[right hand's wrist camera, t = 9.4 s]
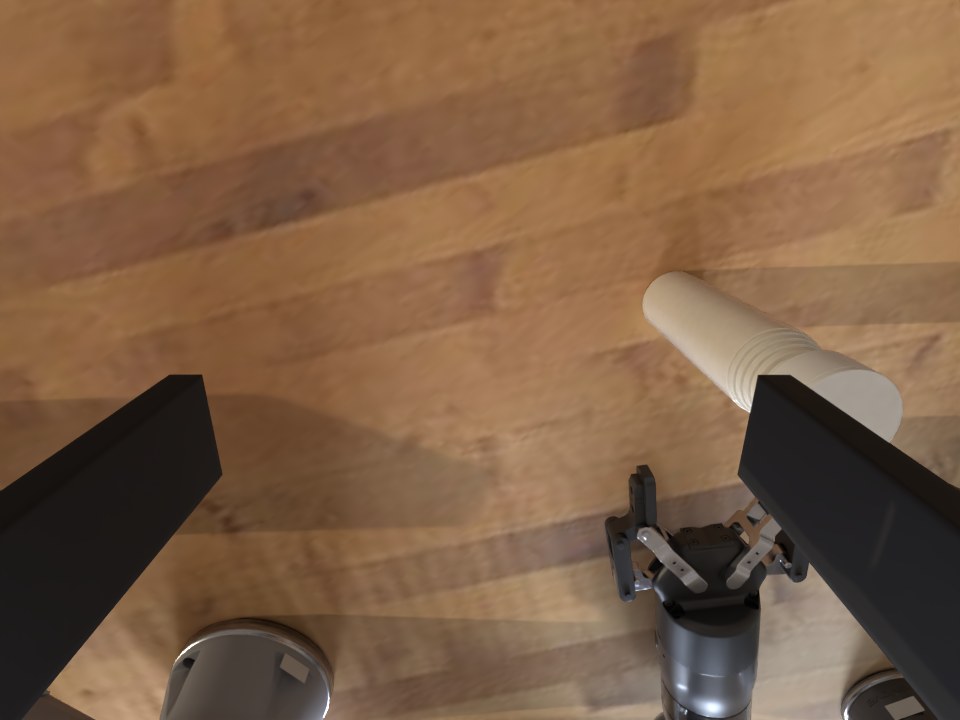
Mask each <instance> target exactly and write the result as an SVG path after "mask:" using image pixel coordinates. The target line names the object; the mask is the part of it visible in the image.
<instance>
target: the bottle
mask: <svg viewBox="0 0 960 720" xmlns="http://www.w3.org/2000/svg"><path fill="white" fill-rule="evenodd" d="M643 312H644V315H645V317H646V319H647V321H648V322H649V323H650V324H651V325H652V326H653V327H654V328H655V329H656V330H657V331H658V332H659V333H660V334H662V335H663V336H664V337H665V338H666V339H667V340H668V341H669V342H670V343H671V344H672V345H673V346H674V347H676V348H677V349H678V350H679V351H680V352H681V353H682V354H683V355H684V356H685V357H686V358H687V359H688V360H690V361H691V362H692V363H693V364H694V365H695V366H696V367H697V368H698V369H699V370H700V371H701V372H702V373H704V374H705V375H706V376H707V377H708V378H709V379H710V380H711V381H712V382H713V383H714V384H715V385H716V386H718V387H719V388H720V389H721V390H722V391H723V392H724V393H725V394H726V395H727V396H728V397H729V398H730V399H732V400H733V401H734V402H735V403H736V404H737V405H738V406H739V407H741V408H742V409H744V410H746V411H748V412H749V413H750V411H751V406H752V401H753V396H754V391H755V387H756V382H757V377H758V375H771V374H772V373H773V372H774V371H775V370H776V369H777V368H778V367H779V366H781V365H782V364H783V363H785V362H786V361H788V360H789V359H791V358H793V357H795V356H797V355H800V354H802V353H806V352H810V351H816V350H822V349H821V348H820V346H819V345H818V344H817V343H816V342H815V341H814V340H813V339H812V338H811V337H809V336H808V335H807V334H805V333H804V332H802V331H800V330H798V329H796V328H794V327H792V326H790V325H788V324H786V323H784V322H783V321H781V320H779V319H777V318H775V317H773V316H771V315H769V314H767V313H765V312H763V311H761V310H759V309H757V308H756V307H754V306H752V305H750V304H748V303H746V302H744V301H742V300H740V299H738V298H736V297H734V296H732V295H730V294H728V293H727V292H725V291H723V290H721V289H719V288H717V287H715V286H713V285H711V284H709V283H707V282H705V281H703V280H701V279H700V278H698V277H696V276H694V275H692V274H690V273H687V272H683V271H673V272H668V273H666V274H663V275H661V276H659V277H658V278H657V279H655V280H654V281H653V282H652V283H651V284H650V286H649V287H648V289H647V290H646V292H645V295H644V298H643Z"/></svg>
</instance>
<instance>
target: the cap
mask: <svg viewBox="0 0 960 720" xmlns="http://www.w3.org/2000/svg"><path fill="white" fill-rule="evenodd" d="M771 375H792V376H793V377H794V378H796V379H797V380H799V381H800V382H802V383H803V384H805V385H806V386H807V387H809V388H810V389H812V390H813V391H815V392H816V393H818V394H819V395H821V396H822V397H823V398H825V399H826V400H828V401H829V402H831V403H832V404H834V405H835V406H837V407H838V408H839V409H841V410H842V411H844V412H845V413H847V414H848V415H850V416H851V417H853V418H854V419H855V420H857V421H858V422H860V423H861V424H863V425H864V426H866V427H867V428H868V429H870V430H871V431H873V432H874V433H876V434H877V435H879V436H880V437H882V438H883V439H884V440H886V441H887V442H890V441H891V439H892V438H893V437H894V435H895V433H896V432H897V430H898V427H899V425H900V422H901V419H902V413H903V404H902V398H901V395H900V392H899V391H898V389H897V387H896V386H895V384H894V383H893V382H892V381H891V380H890V379H888V378H887V377H886V376H884V375H882V374H880V373H878V372H876V371H875V370H873V369H871V368H869V367H867V366H865V365H863V364H861V363H859V362H857V361H855V360H854V359H852V358H850V357H848V356H846V355H844V354H841V353H839V352H835V351H829V350H816V351H810V352H806V353H802V354H800V355H797V356H795V357H793V358H791V359H789V360H788V361H786V362H785V363H783V364H782V365H781V366H779V367H778V368H777V369H776V370H775V371H774V372H773V373H772V374H771Z"/></svg>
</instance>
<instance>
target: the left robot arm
mask: <svg viewBox="0 0 960 720" xmlns="http://www.w3.org/2000/svg"><path fill="white" fill-rule="evenodd" d="M636 470H637V474H631V476H630V478H629V497H630V510H629V512H628V514H627V515H625V516H623V517H621V518H618V517H615V516H612V517H609V518H608V519H606V521H605V529H606V535H607V542H608V548H609V555H610V562H611V568H612V574H613V577H614V580H615V583H616V586H617V589H618V592H619V595H620V598H621V599H622V600H623V601H626V602H628V601H632V600H633V599H634V598H635V597H636V591H638V590H645V589H651V588H654V590H655V610H656V631H655V641H656V645H657V654H658V660H659V664H660V669H661V692H662V707H663V712H662V713H660V714H659V715H658V716H656V717H655V719H654V720H751V708H752V691H753V687H754V684H755V680H756V675H757V664H758V646H759V629H760V611H761V606H760V595H759V588H760V586H761V584H762V582H763V581H764V580H765V578H766V575H776V574H787V576H788V577H789V578H790V580H791V581H792V582H796V583H797V582H801V581H803V580H804V579H805V578H806V576H807V571H808V565H809V561H808V560H807V559H806V558H805V556H804V555H803V554H802V553H801V552H800V550H799V549H798V548H797V547H796V545H795V544H794V543H793V542H792V541H791V539H790V538H789V537H788V536H787V534H786V533H785V532H784V531H783V530H782V528H781V527H780V526H779V525H778V523H777V522H776V521H775V520H774V519H773V517H772V516H771V515H770V514H769V513H768V511H767V510H766V509H765V508H764V506H763V505H762V504H761V503H760V502H759V500H758V499H757V498H756V497H755V498H754V499H753V501H752V502H751V503H750V504H749V505H748V506H747V507H746V509H745V510H743V511H742V510H738V511H736V512H735V514H734V515H733V516H732V517H731V518H730V519H729V520H728V522H727V523H726V524H725V525H724V526H723V525H722V523H720V524H712V525H709V526H706V527H703V528H695V527H687V528H680V532H678V533H676V534H675V535H673V534H672V533H671V532H670V531H669V530H668V529H667V528H666V527H664V526H663V525H662V524H661V523H660V522H659V521H658V520H657V513H656V484H655V479H654V476H653V474H652V472H651V471H650V469H649V467H648V465H640V466H637V467H636ZM765 514H767V517H766V518H765V519H764V520H763V521H762V522H761V523H760V524H759V521H760V519H761V518H762V517H763V516H764V515H765ZM744 530H745V532H746V533H747V535H748V536H749V539H750V541H749V544H747V543H746V542H745V541H744V540H743V539H742V538H741V537H740V535H741V534H742V533H743V531H744ZM774 537H775V542H774V541H773V538H774ZM638 539H639V540H640V541H641V542H643V543H644V544H645V545H646V546H647V547H648V548H649V549H650V550H651V551H653V552H654V554H655V555H656V557H655V558H654V560H653V561H652V562H651V563H650V565H649V567H648V570H642V569H641V568H640V567H639V564H638V563H637V562H635V561H632V559H631V552H630V545H629V543H631V542H633V541H636V540H638ZM841 715H842V718H843V720H938V718H937V717H936V716H935V715H934V714H933V712H932V711H931V710H930V709H929V707H928V706H927V705H926V704H925V703H924V701H923V700H922V699H921V698H920V697H919V695H918V694H917V693H916V692H915V690H914V689H913V688H912V687H911V686H910V684H909V683H908V682H907V681H906V679H905V678H904V677H903V676H902V675H901V673H900V672H899V671H898V670H890V671H885V672H881V673H877V674H875V675H872V676H870V677H868V678H866V679H864V680H862V681H861V682H859V683H858V684H857V685H855V686H854V687H853V688H852V689H851V690H850V691H849V692H848V694H847V695H846V696H845V698H844V700H843V702H842V706H841Z"/></svg>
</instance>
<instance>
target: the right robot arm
mask: <svg viewBox="0 0 960 720" xmlns="http://www.w3.org/2000/svg"><path fill="white" fill-rule="evenodd" d="M221 476H222V470H221V465H220V460H219V455H218V450H217V445H216V440H215V436H214V431H213V426H212V421H211V416H210V411H209V406H208V401H207V396H206V391H205V387H204V382H203V377H202V375H168V376H167V377H166V378H164V379H163V380H161V381H160V382H158V383H157V384H155V385H154V386H153V387H151V388H150V389H148V390H147V391H145V392H144V393H142V394H141V395H139V396H138V397H137V398H135V399H134V400H132V401H131V402H129V403H128V404H126V405H125V406H123V407H122V408H121V409H119V410H118V411H116V412H115V413H113V414H112V415H110V416H109V417H107V418H106V419H105V420H103V421H102V422H100V423H99V424H97V425H96V426H94V427H93V428H92V429H90V430H89V431H87V432H86V433H84V434H83V435H81V436H80V437H78V438H77V439H76V440H74V441H73V442H71V443H70V444H68V445H67V446H65V447H64V448H62V449H61V450H60V451H58V452H57V453H55V454H54V455H52V456H51V457H49V458H48V459H47V460H45V461H44V462H42V463H41V464H39V465H38V466H36V467H35V468H33V469H32V470H31V471H29V472H28V473H26V474H25V475H23V476H22V477H20V478H19V479H17V480H16V481H15V482H13V483H12V484H10V485H9V486H7V487H6V488H4V489H3V490H1V491H0V720H95V719H93V718H91V717H89V716H87V715H85V714H84V713H82V712H80V711H78V710H76V709H74V708H73V707H71V706H69V705H67V704H65V703H64V702H62V701H60V700H58V699H56V698H54V697H53V696H51V695H49V693H50V691H48V690H46V689H47V688H48V687H49V686H50V684H51V683H52V682H53V681H54V679H55V678H56V677H57V676H58V675H59V673H60V672H61V671H62V670H63V669H64V667H65V666H66V665H67V664H68V662H69V661H70V660H71V659H72V658H73V656H74V655H75V654H76V653H77V651H78V650H79V649H80V648H81V647H82V645H83V644H84V643H85V642H86V640H87V639H88V638H89V637H90V636H91V634H92V633H93V632H94V631H95V630H96V628H97V627H98V626H99V625H100V623H101V622H102V621H103V620H104V619H105V617H106V616H107V615H108V614H109V612H110V611H111V610H112V609H113V608H114V606H115V605H116V604H117V603H118V601H119V600H120V599H121V598H122V597H123V595H124V594H125V593H126V592H127V591H128V589H129V588H130V587H131V586H132V584H133V583H134V582H135V581H136V580H137V578H138V577H139V576H140V575H141V573H142V572H143V571H144V570H145V569H146V567H147V566H148V565H149V564H150V562H151V561H152V560H153V559H154V558H155V556H156V555H157V554H158V553H159V552H160V550H161V549H162V548H163V547H164V545H165V544H166V543H167V542H168V541H169V539H170V538H171V537H172V536H173V534H174V533H175V532H176V531H177V530H178V528H179V527H180V526H181V525H182V523H183V522H184V521H185V520H186V519H187V517H188V516H189V515H190V514H191V513H192V511H193V510H194V509H195V508H196V506H197V505H198V504H199V503H200V502H201V500H202V499H203V498H204V497H205V495H206V494H207V493H208V492H209V491H210V489H211V488H212V487H213V486H214V484H215V483H216V482H217V481H218V480H219V478H220V477H221ZM738 476H739V477H740V478H741V480H742V481H743V482H744V483H745V484H746V486H747V487H748V488H749V489H750V491H751V492H752V493H753V494H754V495H755V497H756V498H757V499H758V500H759V502H760V503H761V504H762V505H763V506H764V508H765V509H766V510H767V511H768V513H769V514H770V515H771V516H772V517H773V519H774V520H775V521H776V522H777V523H778V525H779V526H780V527H781V528H782V530H783V531H784V532H785V533H786V534H787V536H788V537H789V538H790V539H791V541H792V542H793V543H794V544H795V545H796V547H797V548H798V549H799V550H800V552H801V553H802V554H803V555H804V556H805V558H806V559H807V560H808V561H809V562H810V564H811V565H812V566H813V567H814V569H815V570H816V571H817V572H818V573H819V575H820V576H821V577H822V578H823V580H824V581H825V582H826V583H827V584H828V586H829V587H830V588H831V589H832V591H833V592H834V593H835V594H836V595H837V597H838V598H839V599H840V600H841V601H842V603H843V604H844V605H845V606H846V608H847V609H848V610H849V611H850V612H851V614H852V615H853V616H854V617H855V619H856V620H857V621H858V622H859V623H860V625H861V626H862V627H863V628H864V630H865V631H866V632H867V633H868V634H869V636H870V637H871V638H872V639H873V640H874V642H875V643H876V644H877V645H878V647H879V648H880V649H881V650H882V651H883V653H884V654H885V655H886V656H887V658H888V659H889V660H890V661H891V662H892V664H893V665H894V666H895V667H896V669H897V670H898V671H899V672H900V673H901V675H902V676H903V677H904V678H905V679H906V681H907V682H908V683H909V684H910V686H911V687H912V688H913V689H914V690H915V692H916V693H917V694H918V695H919V697H920V698H921V699H922V700H923V701H924V703H925V704H926V705H927V706H928V707H929V709H930V710H931V711H932V712H933V714H934V715H935V716H936V717H937V718H938V720H960V489H959V488H957V487H955V486H953V485H951V484H949V483H947V482H945V481H944V480H943V479H941V478H940V477H938V476H937V475H935V474H934V473H932V472H931V471H929V470H928V469H927V468H925V467H924V466H922V465H921V464H919V463H918V462H916V461H915V460H913V459H912V458H911V457H909V456H908V455H906V454H905V453H903V452H902V451H900V450H899V449H898V448H896V447H895V446H893V445H892V444H890V443H889V442H887V441H886V440H884V439H883V438H882V437H880V436H879V435H877V434H876V433H874V432H873V431H871V430H870V429H868V428H867V427H866V426H864V425H863V424H861V423H860V422H858V421H857V420H855V419H854V418H853V417H851V416H850V415H848V414H847V413H845V412H844V411H842V410H841V409H839V408H838V407H837V406H835V405H834V404H832V403H831V402H829V401H828V400H826V399H825V398H823V397H822V396H821V395H819V394H818V393H816V392H815V391H813V390H812V389H810V388H809V387H807V386H806V385H805V384H803V383H802V382H800V381H799V380H797V379H796V378H794V377H793V376H792V375H758V377H757V382H756V387H755V391H754V396H753V401H752V406H751V411H750V416H749V421H748V426H747V431H746V436H745V440H744V445H743V450H742V455H741V460H740V465H739V470H738ZM332 690H333V674H332V670H331V667H330V665H329V663H328V661H327V659H326V657H325V656H324V655H323V653H322V652H321V651H320V650H319V648H318V647H317V646H316V645H314V644H313V643H312V642H311V641H310V640H308V639H307V638H306V637H304V636H303V635H301V634H299V633H298V632H296V631H294V630H292V629H290V628H287V627H285V626H282V625H279V624H276V623H272V622H268V621H262V620H254V619H236V620H228V621H223V622H219V623H216V624H213V625H211V626H208V627H206V628H204V629H202V630H201V631H199V632H198V633H196V634H195V635H194V636H193V637H192V638H191V639H190V640H189V641H188V642H187V643H186V645H185V646H184V648H183V650H182V651H181V653H180V655H179V656H178V658H177V660H176V661H175V663H174V665H173V667H172V669H171V673H170V677H169V681H168V685H167V689H166V694H165V698H164V702H163V707H162V711H161V715H160V720H322V719H323V718H324V716H325V714H326V712H327V708H328V705H329V701H330V698H331V694H332Z"/></svg>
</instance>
